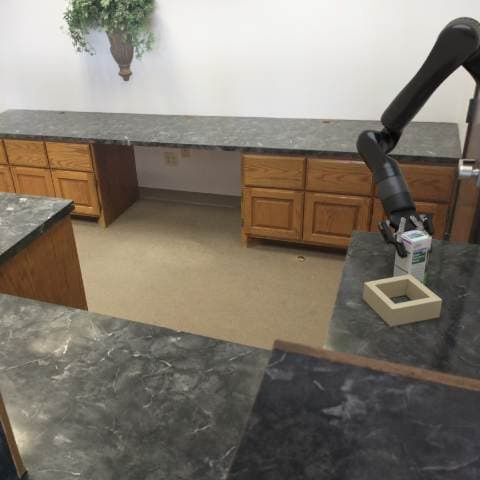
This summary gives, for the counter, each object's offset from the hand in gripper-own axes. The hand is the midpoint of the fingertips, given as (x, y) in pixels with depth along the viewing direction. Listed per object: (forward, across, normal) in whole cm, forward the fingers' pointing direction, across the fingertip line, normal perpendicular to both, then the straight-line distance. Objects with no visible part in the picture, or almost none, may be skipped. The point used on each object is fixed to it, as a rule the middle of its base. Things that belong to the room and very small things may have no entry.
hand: (416, 255), depth 130 cm
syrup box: (+6, 0, +8) cm, 10 cm away
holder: (+12, -8, +1) cm, 15 cm away
